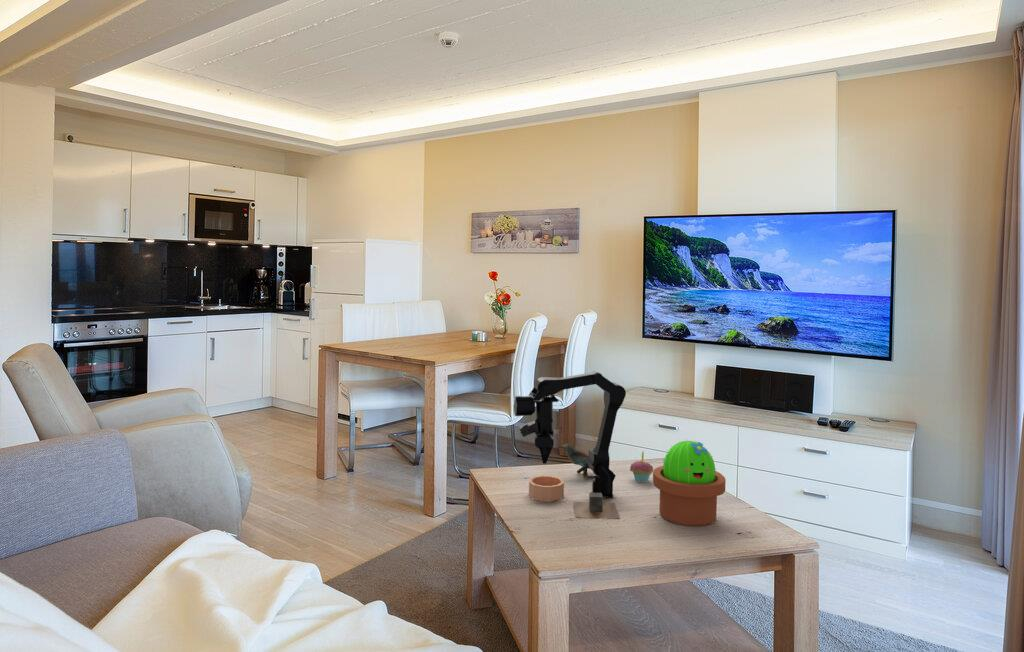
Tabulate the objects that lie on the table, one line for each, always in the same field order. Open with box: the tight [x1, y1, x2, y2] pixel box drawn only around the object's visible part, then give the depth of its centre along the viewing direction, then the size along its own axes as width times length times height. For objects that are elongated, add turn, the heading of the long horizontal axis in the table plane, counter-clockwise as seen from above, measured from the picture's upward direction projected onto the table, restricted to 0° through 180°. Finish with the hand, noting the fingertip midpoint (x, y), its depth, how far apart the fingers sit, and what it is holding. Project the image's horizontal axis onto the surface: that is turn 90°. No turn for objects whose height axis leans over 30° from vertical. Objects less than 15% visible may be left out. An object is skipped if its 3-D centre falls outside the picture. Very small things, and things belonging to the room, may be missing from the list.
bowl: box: [528, 475, 565, 502], centre depth 218 cm, size 12×12×5 cm
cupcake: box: [629, 451, 654, 483], centre depth 235 cm, size 9×8×12 cm
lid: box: [572, 492, 621, 520], centre depth 205 cm, size 14×14×6 cm
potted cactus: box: [652, 439, 727, 527], centre depth 200 cm, size 22×22×25 cm
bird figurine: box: [558, 443, 614, 479], centre depth 241 cm, size 13×10×20 cm
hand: (544, 459), depth 215 cm, fingers open, 9 cm apart
